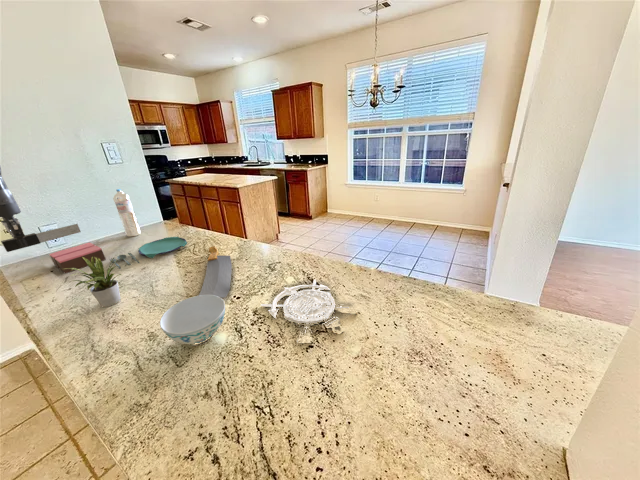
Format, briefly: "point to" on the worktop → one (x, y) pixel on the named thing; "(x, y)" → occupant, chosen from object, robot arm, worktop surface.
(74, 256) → the two-tone red slab
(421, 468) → the worktop surface
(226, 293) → the cleaver
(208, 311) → the chinaware
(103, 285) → the house plant
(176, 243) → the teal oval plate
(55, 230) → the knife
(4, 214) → the robot arm
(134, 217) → the water bottle
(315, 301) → the pendant
